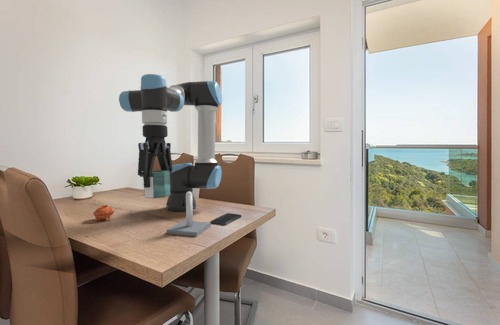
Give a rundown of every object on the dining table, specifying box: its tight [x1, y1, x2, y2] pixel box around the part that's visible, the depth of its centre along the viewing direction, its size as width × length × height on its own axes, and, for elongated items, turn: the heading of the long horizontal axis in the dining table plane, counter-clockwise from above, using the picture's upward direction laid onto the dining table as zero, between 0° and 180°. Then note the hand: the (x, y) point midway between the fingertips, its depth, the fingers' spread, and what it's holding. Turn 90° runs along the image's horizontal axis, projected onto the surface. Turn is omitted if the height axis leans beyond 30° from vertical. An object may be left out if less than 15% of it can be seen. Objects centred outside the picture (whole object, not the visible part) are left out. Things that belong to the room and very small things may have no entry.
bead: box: [143, 169, 170, 199], centre depth 81 cm, size 8×8×8 cm
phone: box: [209, 212, 242, 226], centre depth 108 cm, size 8×1×15 cm
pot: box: [93, 204, 115, 222], centre depth 108 cm, size 8×8×7 cm
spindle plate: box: [166, 192, 212, 237], centre depth 94 cm, size 12×12×15 cm
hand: (157, 194), depth 81 cm, fingers closed on bead, 8 cm apart
